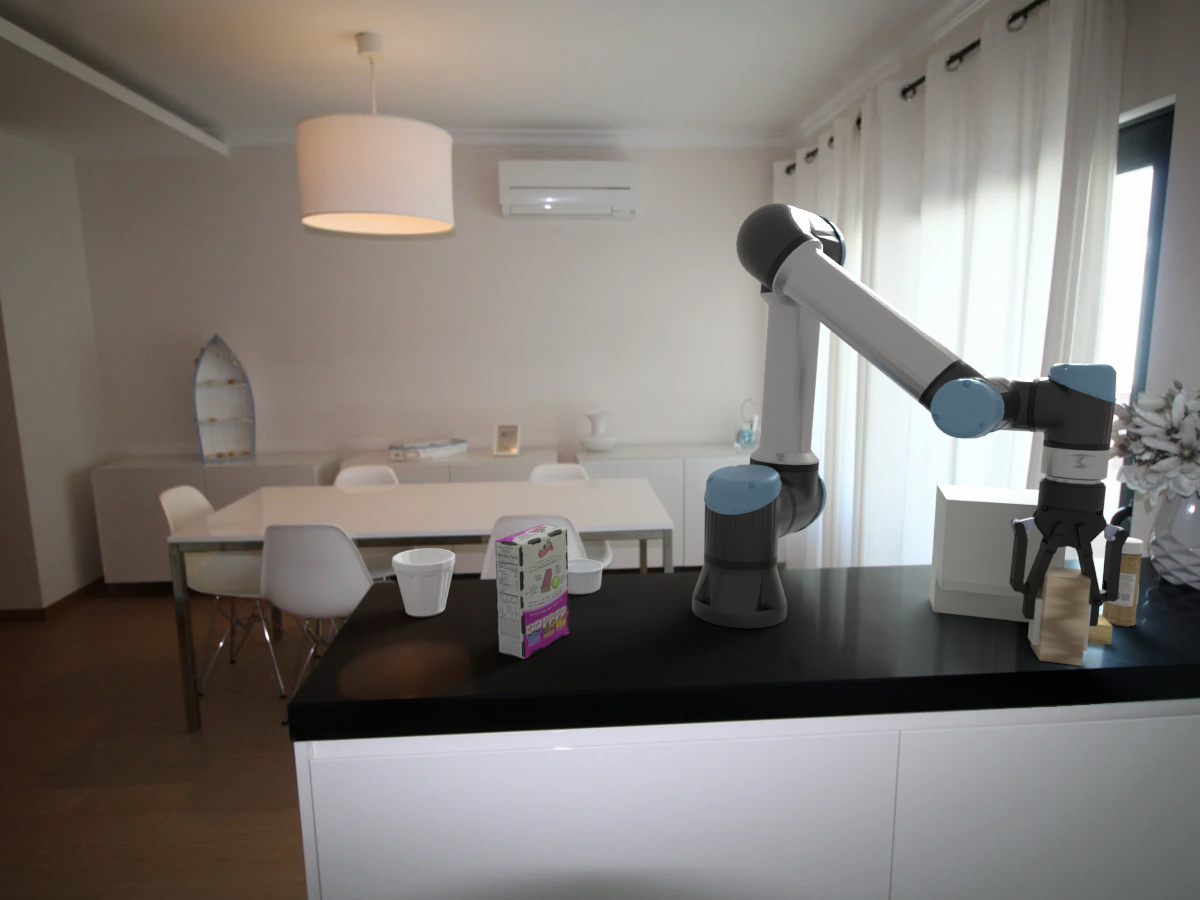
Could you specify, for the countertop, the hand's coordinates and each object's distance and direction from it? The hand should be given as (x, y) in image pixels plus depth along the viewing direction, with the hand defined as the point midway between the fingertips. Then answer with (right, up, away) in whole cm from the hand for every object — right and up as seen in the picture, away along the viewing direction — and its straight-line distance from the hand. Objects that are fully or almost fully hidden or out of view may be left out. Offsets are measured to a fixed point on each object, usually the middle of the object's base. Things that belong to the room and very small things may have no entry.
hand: (1056, 643), depth 101 cm
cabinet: (-1, 0, +15) cm, 15 cm away
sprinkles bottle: (+18, 0, +14) cm, 23 cm away
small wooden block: (+9, -1, +8) cm, 12 cm away
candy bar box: (-73, -1, +4) cm, 73 cm away
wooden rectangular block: (+2, -1, +5) cm, 5 cm away
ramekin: (-67, +2, +30) cm, 74 cm away
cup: (-92, 0, +17) cm, 93 cm away
